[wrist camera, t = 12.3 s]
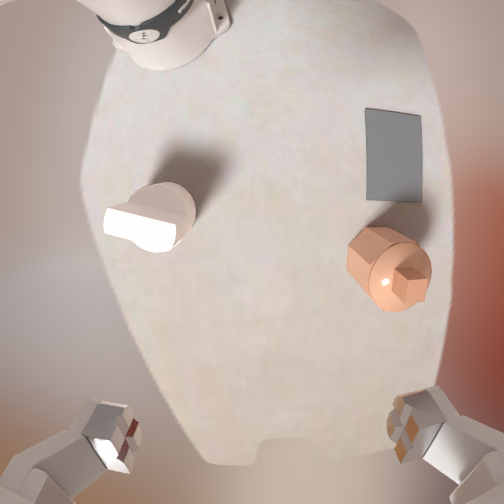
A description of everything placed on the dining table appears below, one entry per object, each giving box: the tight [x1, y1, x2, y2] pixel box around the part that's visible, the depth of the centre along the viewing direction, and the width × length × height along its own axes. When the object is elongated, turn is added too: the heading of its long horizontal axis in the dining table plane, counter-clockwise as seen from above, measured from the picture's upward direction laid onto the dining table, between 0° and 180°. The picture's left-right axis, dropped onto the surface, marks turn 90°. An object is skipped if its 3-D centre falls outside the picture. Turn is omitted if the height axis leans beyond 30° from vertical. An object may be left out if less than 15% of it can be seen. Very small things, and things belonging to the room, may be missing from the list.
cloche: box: [347, 227, 432, 312], centre depth 38 cm, size 10×10×14 cm
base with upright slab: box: [104, 182, 196, 252], centre depth 37 cm, size 9×9×12 cm
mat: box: [365, 109, 422, 202], centre depth 40 cm, size 14×10×1 cm
